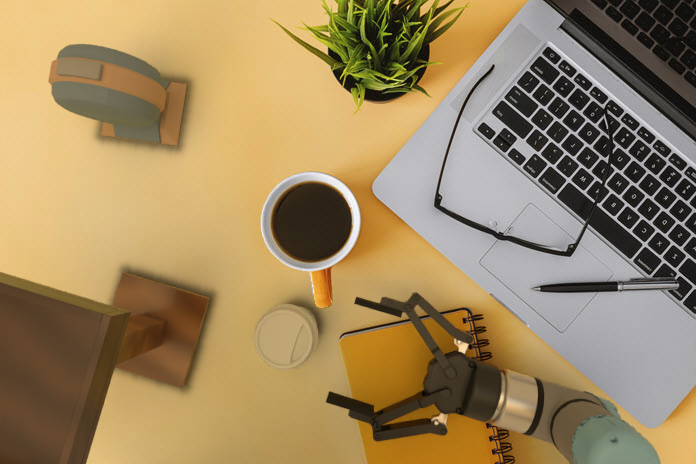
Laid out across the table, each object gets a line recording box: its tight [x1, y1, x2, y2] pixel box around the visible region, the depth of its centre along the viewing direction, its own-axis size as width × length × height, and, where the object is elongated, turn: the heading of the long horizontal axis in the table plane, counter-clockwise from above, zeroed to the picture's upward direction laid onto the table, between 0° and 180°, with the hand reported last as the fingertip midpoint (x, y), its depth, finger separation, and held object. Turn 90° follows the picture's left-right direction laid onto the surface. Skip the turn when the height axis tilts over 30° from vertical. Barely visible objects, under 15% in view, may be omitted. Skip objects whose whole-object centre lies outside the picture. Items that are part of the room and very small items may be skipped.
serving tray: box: [0, 271, 131, 464], centre depth 44 cm, size 18×18×4 cm
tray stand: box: [112, 272, 211, 389], centre depth 60 cm, size 14×14×29 cm
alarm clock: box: [48, 43, 188, 147], centre depth 67 cm, size 14×10×18 cm
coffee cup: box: [252, 303, 320, 371], centre depth 67 cm, size 8×8×12 cm
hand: (340, 348), depth 66 cm, fingers open, 13 cm apart
